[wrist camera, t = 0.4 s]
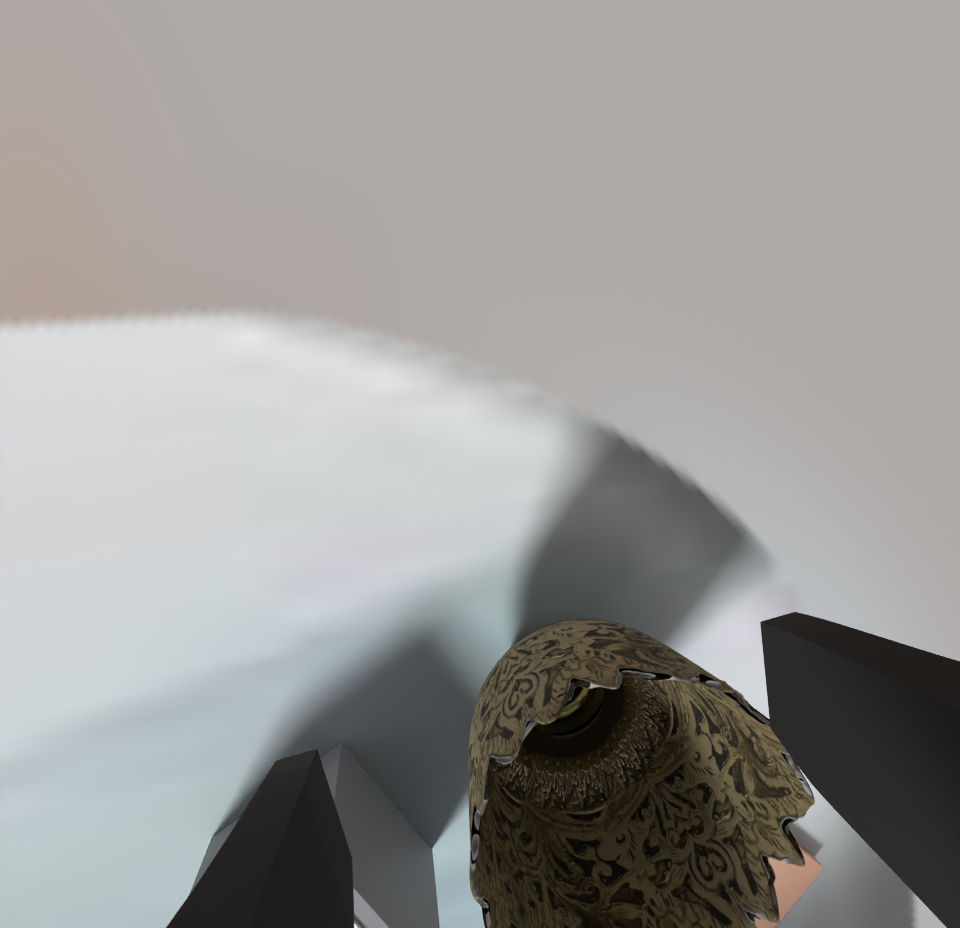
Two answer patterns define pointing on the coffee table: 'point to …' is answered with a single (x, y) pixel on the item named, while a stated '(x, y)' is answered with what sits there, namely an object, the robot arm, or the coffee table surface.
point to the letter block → (373, 850)
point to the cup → (624, 789)
